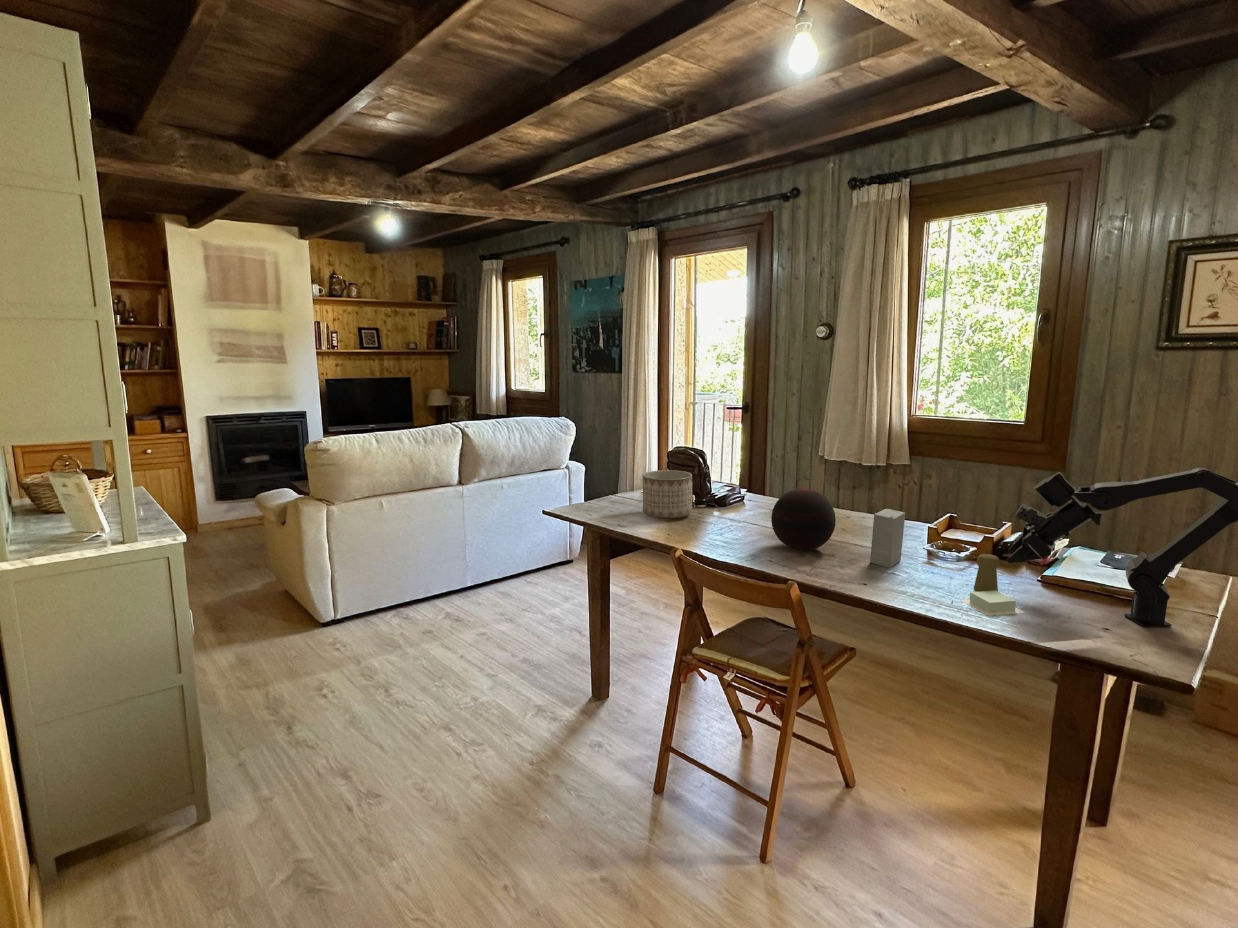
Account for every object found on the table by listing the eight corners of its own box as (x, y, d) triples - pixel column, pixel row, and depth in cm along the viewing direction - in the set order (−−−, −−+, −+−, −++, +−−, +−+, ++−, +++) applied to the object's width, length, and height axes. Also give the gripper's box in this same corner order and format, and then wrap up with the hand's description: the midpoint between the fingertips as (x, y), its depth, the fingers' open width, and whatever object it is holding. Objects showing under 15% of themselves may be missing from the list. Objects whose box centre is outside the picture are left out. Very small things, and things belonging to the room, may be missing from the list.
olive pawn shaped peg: (975, 589, 179) (978, 550, 177) (1000, 594, 175) (1004, 554, 173) (969, 596, 174) (973, 555, 172) (995, 601, 170) (999, 560, 168)
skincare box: (880, 557, 207) (883, 507, 204) (903, 562, 202) (906, 511, 199) (868, 563, 201) (871, 512, 198) (891, 568, 196) (894, 516, 193)
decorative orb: (805, 537, 229) (807, 480, 226) (848, 553, 212) (850, 491, 208) (758, 545, 221) (759, 486, 217) (798, 562, 203) (800, 498, 200)
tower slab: (1024, 618, 160) (1025, 612, 159) (986, 621, 158) (987, 615, 158) (995, 602, 169) (996, 597, 169) (959, 605, 168) (960, 599, 168)
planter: (645, 509, 273) (645, 469, 270) (692, 510, 270) (692, 470, 267) (640, 521, 254) (640, 479, 251) (691, 522, 251) (691, 479, 248)
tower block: (1015, 610, 161) (1016, 600, 160) (988, 612, 160) (989, 602, 159) (995, 599, 167) (995, 590, 167) (969, 601, 166) (970, 592, 166)
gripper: (1039, 488, 172) (987, 523, 180) (1039, 503, 157) (982, 541, 164) (1072, 521, 170) (1018, 556, 177) (1076, 540, 154) (1016, 577, 162)
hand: (1008, 556), depth 170 cm, fingers open, 9 cm apart
